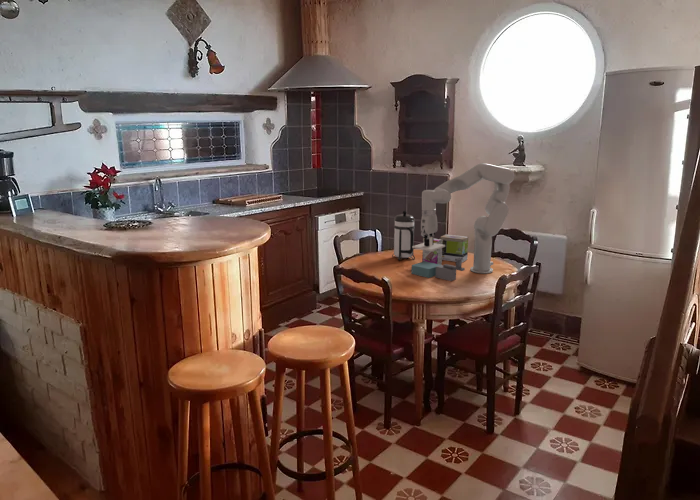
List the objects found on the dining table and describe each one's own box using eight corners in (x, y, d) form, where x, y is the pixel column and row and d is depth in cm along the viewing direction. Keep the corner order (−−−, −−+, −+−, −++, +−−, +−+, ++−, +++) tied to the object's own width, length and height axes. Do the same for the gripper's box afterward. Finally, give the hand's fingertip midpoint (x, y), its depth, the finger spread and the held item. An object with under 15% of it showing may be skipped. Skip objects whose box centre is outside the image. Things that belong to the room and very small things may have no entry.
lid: (426, 243, 314) (426, 233, 312) (445, 246, 305) (445, 236, 304) (412, 248, 305) (412, 237, 304) (431, 251, 296) (431, 240, 295)
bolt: (447, 265, 301) (447, 254, 299) (465, 269, 292) (466, 258, 291) (441, 267, 297) (442, 255, 296) (460, 271, 289) (461, 259, 287)
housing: (424, 269, 317) (424, 259, 315) (459, 277, 300) (460, 267, 299) (411, 273, 308) (411, 263, 307) (446, 282, 292) (447, 271, 291)
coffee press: (386, 259, 339) (387, 211, 332) (398, 254, 352) (399, 208, 345) (411, 263, 330) (413, 214, 323) (422, 257, 343) (424, 210, 336)
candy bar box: (421, 264, 327) (422, 238, 323) (426, 263, 330) (427, 236, 327) (437, 268, 320) (438, 240, 316) (442, 266, 323) (443, 239, 319)
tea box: (467, 259, 339) (469, 236, 336) (461, 263, 331) (463, 239, 327) (445, 256, 347) (446, 233, 343) (438, 259, 339) (439, 236, 335)
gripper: (425, 215, 292) (425, 249, 297) (443, 211, 303) (442, 243, 308) (414, 214, 297) (414, 247, 302) (432, 209, 308) (432, 241, 313)
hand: (428, 244), depth 305 cm, fingers closed on lid, 3 cm apart
